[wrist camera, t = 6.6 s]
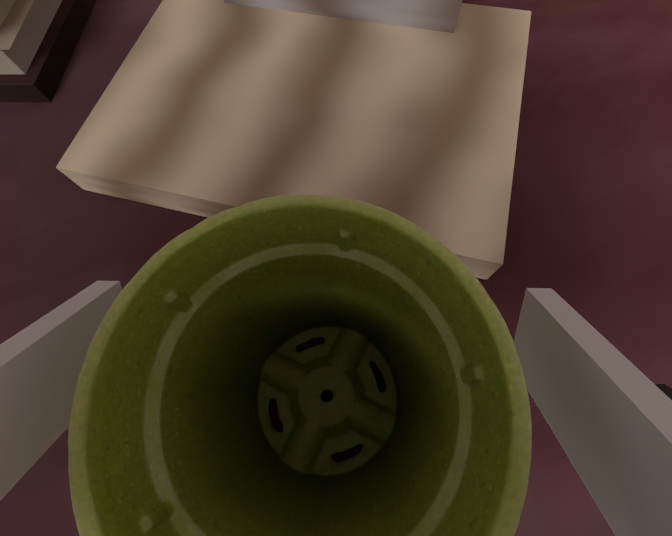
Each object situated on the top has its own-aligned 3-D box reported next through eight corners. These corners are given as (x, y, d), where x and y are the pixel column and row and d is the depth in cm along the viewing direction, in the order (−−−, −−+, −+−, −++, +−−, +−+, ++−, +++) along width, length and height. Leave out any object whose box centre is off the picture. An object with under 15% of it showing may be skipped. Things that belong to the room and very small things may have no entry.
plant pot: (254, 570, 13) (98, 833, 5) (195, 337, 17) (42, 273, 8) (477, 466, 14) (643, 553, 6) (379, 264, 17) (400, 143, 9)
